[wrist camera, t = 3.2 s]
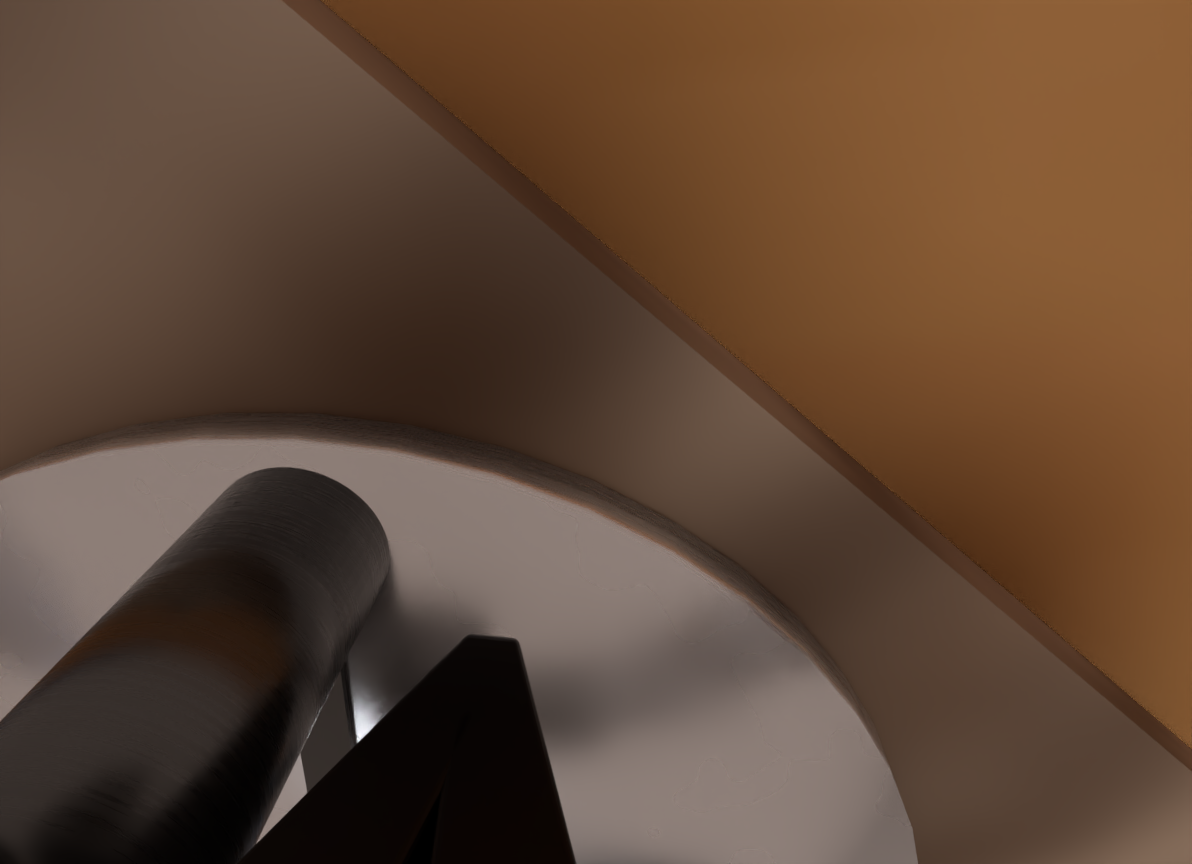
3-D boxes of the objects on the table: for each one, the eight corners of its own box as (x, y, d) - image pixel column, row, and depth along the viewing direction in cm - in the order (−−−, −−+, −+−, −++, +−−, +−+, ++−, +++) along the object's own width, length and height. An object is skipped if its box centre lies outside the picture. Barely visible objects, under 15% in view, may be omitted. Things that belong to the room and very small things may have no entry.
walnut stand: (1237, 789, 15) (1345, 918, 13) (507, 1177, 23) (493, 1295, 21) (110, -181, 9) (-70, -267, 7) (-311, 819, 18) (-450, 929, 15)
